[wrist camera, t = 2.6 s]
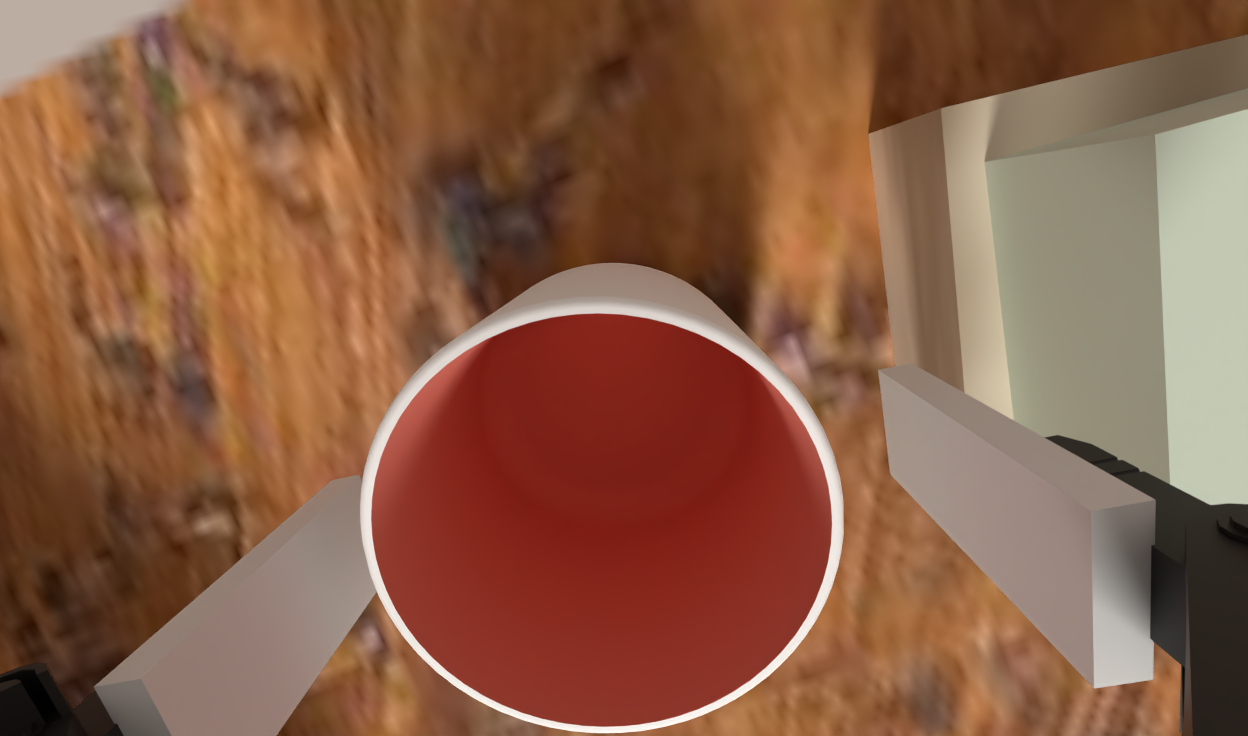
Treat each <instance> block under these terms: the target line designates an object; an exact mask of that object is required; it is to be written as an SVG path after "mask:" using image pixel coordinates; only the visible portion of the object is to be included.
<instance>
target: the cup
mask: <svg viewBox="0 0 1248 736" xmlns="http://www.w3.org/2000/svg"><path fill="white" fill-rule="evenodd" d="M843 525H844V514H843V494H842V488H841V482H840V475H839V472H838V468H837V465H836V461H835V457H834V454H833V451H832V448H831V446H830V443H829V441H828V438H827V436H826V434H825V432H824V429H823V427H822V425H821V424H820V422H819V420H818V418H817V416H816V415H815V413H814V411H813V410H812V408H811V406H810V405H809V403H808V402H807V400H806V399H805V397H804V396H803V395H802V394H801V392H800V391H799V390H798V389H797V387H796V386H795V385H794V384H793V382H792V381H791V380H790V379H789V378H788V376H787V375H786V374H785V373H784V372H783V371H782V370H781V369H780V368H779V367H778V366H777V365H776V364H775V363H774V362H773V361H772V360H771V359H770V358H769V357H768V356H767V355H766V354H765V353H764V352H763V351H762V350H761V349H760V348H759V347H758V346H757V345H756V344H755V343H754V342H753V341H752V340H751V339H750V338H749V337H748V336H747V335H746V334H745V333H744V332H743V331H742V330H741V329H740V328H739V327H738V326H737V325H736V324H735V323H734V322H733V321H732V320H731V319H730V318H729V317H728V316H727V315H726V314H725V313H724V312H723V311H722V310H721V309H720V308H719V307H718V306H717V305H716V304H715V303H714V302H713V301H712V300H711V299H709V298H708V297H707V296H706V295H704V294H703V293H702V292H701V291H699V290H698V289H696V288H695V287H693V286H691V285H690V284H688V283H687V282H685V281H683V280H681V279H679V278H677V277H675V276H673V275H671V274H668V273H666V272H663V271H660V270H657V269H653V268H650V267H645V266H641V265H635V264H626V263H599V264H591V265H584V266H580V267H576V268H572V269H569V270H566V271H563V272H560V273H557V274H555V275H553V276H550V277H548V278H546V279H544V280H542V281H541V282H539V283H537V284H535V285H534V286H532V287H531V288H529V289H528V290H526V291H525V292H523V293H522V294H520V295H519V296H517V297H516V298H514V299H513V300H511V301H510V302H508V303H507V304H505V305H504V306H503V307H501V308H500V309H498V310H497V311H495V312H494V313H492V314H491V315H489V316H488V317H486V318H485V319H483V320H482V321H480V322H479V323H477V324H476V325H474V326H473V327H471V328H470V329H468V330H467V331H465V332H464V333H462V334H461V335H459V336H458V337H457V338H455V339H454V340H453V341H451V342H450V343H448V344H447V345H446V346H444V347H443V348H441V349H440V350H439V351H438V352H437V353H435V354H434V355H433V356H432V357H431V358H430V359H429V360H427V361H426V362H425V363H424V364H423V365H422V366H421V367H420V368H419V369H418V370H417V371H416V372H415V374H414V375H413V376H412V377H411V378H410V379H409V380H408V382H407V383H406V384H405V385H404V386H403V388H402V389H401V390H400V392H399V393H398V394H397V396H396V398H395V399H394V401H393V402H392V404H391V405H390V407H389V408H388V410H387V412H386V414H385V416H384V418H383V420H382V421H381V423H380V425H379V427H378V429H377V432H376V434H375V437H374V440H373V442H372V445H371V447H370V450H369V454H368V458H367V461H366V465H365V469H364V474H363V480H362V486H361V498H360V526H361V535H362V543H363V547H364V551H365V555H366V559H367V563H368V567H369V572H370V575H371V578H372V580H373V583H374V585H375V588H376V591H377V593H378V595H379V597H380V599H381V601H382V603H383V605H384V607H385V609H386V611H387V613H388V615H389V616H390V618H391V619H392V621H393V622H394V624H395V625H396V627H397V628H398V630H399V631H400V633H401V634H402V636H403V637H404V638H405V639H406V640H407V642H408V643H409V644H410V645H411V646H412V647H413V649H414V650H415V651H416V652H417V653H418V655H420V656H421V657H422V658H423V659H424V660H425V661H426V662H427V663H428V664H429V665H430V666H431V667H432V668H433V669H434V670H435V671H436V672H437V673H439V674H440V675H441V676H443V677H444V678H445V679H446V680H448V681H449V682H450V683H452V684H453V685H454V686H455V687H457V688H459V689H460V690H462V691H463V692H465V693H467V694H468V695H470V696H471V697H473V698H475V699H476V700H478V701H480V702H482V703H484V704H486V705H488V706H490V707H492V708H494V709H496V710H498V711H500V712H503V713H506V714H508V715H511V716H514V717H516V718H519V719H522V720H524V721H528V722H532V723H535V724H539V725H543V726H547V727H551V728H557V729H563V730H569V731H577V732H590V733H624V732H634V731H644V730H649V729H655V728H660V727H665V726H669V725H673V724H676V723H680V722H684V721H687V720H690V719H693V718H695V717H698V716H701V715H704V714H706V713H708V712H710V711H713V710H715V709H717V708H720V707H721V706H723V705H725V704H727V703H729V702H731V701H733V700H735V699H736V698H738V697H739V696H741V695H743V694H744V693H746V692H747V691H749V690H750V689H752V688H753V687H755V686H756V685H757V684H759V683H760V682H761V681H762V680H764V679H765V678H766V677H768V676H769V675H770V674H771V673H772V672H773V671H774V670H775V669H777V668H778V667H779V666H780V665H781V664H782V663H783V662H784V661H785V660H786V659H787V658H788V657H789V655H790V654H791V653H792V652H793V651H794V650H795V649H796V648H797V646H798V645H799V644H800V642H801V641H802V640H803V639H804V637H805V636H806V635H807V633H808V632H809V630H810V629H811V627H812V625H813V624H814V622H815V621H816V619H817V617H818V615H819V614H820V612H821V610H822V608H823V606H824V604H825V602H826V600H827V597H828V595H829V592H830V590H831V588H832V585H833V582H834V578H835V575H836V572H837V569H838V564H839V560H840V555H841V550H842V542H843V534H844V527H843Z"/></svg>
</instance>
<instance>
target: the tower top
mask: <svg viewBox="0 0 1248 736" xmlns="http://www.w3.org/2000/svg"><path fill="white" fill-rule="evenodd" d="M984 163H985V172H986V180H987V189H988V198H989V207H990V215H991V224H992V233H993V242H994V251H995V259H996V268H997V277H998V286H999V294H1000V303H1001V312H1002V321H1003V330H1004V338H1005V347H1006V356H1007V365H1008V374H1009V382H1010V391H1011V400H1012V409H1013V417H1014V421H1016V422H1017V423H1019V424H1021V425H1023V426H1024V427H1026V428H1028V429H1030V430H1032V431H1033V432H1035V433H1037V434H1039V435H1041V436H1042V437H1050V436H1055V435H1060V436H1064V437H1067V438H1071V439H1075V440H1079V441H1083V442H1086V443H1090V444H1093V445H1095V446H1097V447H1099V448H1100V449H1102V450H1104V451H1106V452H1108V453H1110V454H1112V455H1114V456H1116V457H1117V459H1118V460H1124V461H1126V462H1128V463H1130V464H1132V465H1133V466H1135V467H1137V468H1139V470H1140V472H1142V471H1145V472H1147V473H1149V474H1151V475H1153V476H1155V477H1157V478H1159V479H1161V480H1163V481H1165V482H1167V483H1168V484H1170V485H1172V486H1174V487H1176V488H1178V489H1180V490H1182V491H1184V492H1186V493H1188V494H1190V495H1192V496H1194V497H1196V498H1198V499H1200V500H1202V501H1203V502H1205V503H1207V504H1209V505H1217V504H1226V503H1233V504H1248V88H1247V89H1243V90H1240V91H1236V92H1232V93H1229V94H1225V95H1222V96H1218V97H1215V98H1211V99H1208V100H1204V101H1200V102H1197V103H1193V104H1190V105H1186V106H1183V107H1179V108H1175V109H1172V110H1168V111H1165V112H1161V113H1158V114H1154V115H1150V116H1147V117H1143V118H1140V119H1136V120H1133V121H1129V122H1126V123H1122V124H1118V125H1115V126H1111V127H1108V128H1104V129H1101V130H1097V131H1093V132H1090V133H1086V134H1083V135H1079V136H1076V137H1072V138H1068V139H1065V140H1061V141H1058V142H1054V143H1051V144H1047V145H1044V146H1040V147H1036V148H1033V149H1029V150H1026V151H1022V152H1019V153H1015V154H1011V155H1008V156H1004V157H1001V158H997V159H994V160H990V161H986V162H984Z"/></svg>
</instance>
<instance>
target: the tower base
mask: <svg viewBox="0 0 1248 736" xmlns="http://www.w3.org/2000/svg"><path fill="white" fill-rule="evenodd" d="M1247 88H1248V34H1247V35H1243V36H1239V37H1235V38H1231V39H1226V40H1222V41H1218V42H1214V43H1210V44H1206V45H1201V46H1197V47H1193V48H1189V49H1185V50H1181V51H1177V52H1172V53H1168V54H1164V55H1160V56H1156V57H1152V58H1147V59H1143V60H1139V61H1135V62H1131V63H1127V64H1123V65H1118V66H1114V67H1110V68H1106V69H1102V70H1098V71H1093V72H1089V73H1085V74H1081V75H1077V76H1073V77H1068V78H1064V79H1060V80H1056V81H1052V82H1048V83H1044V84H1039V85H1035V86H1031V87H1027V88H1023V89H1019V90H1014V91H1010V92H1006V93H1002V94H998V95H994V96H990V97H985V98H981V99H977V100H973V101H969V102H965V103H960V104H956V105H952V106H948V107H944V108H940V109H937V110H934V111H932V112H929V113H926V114H923V115H920V116H918V117H915V118H912V119H909V120H906V121H904V122H901V123H898V124H895V125H892V126H890V127H887V128H884V129H881V130H878V131H875V132H873V133H870V134H868V136H869V145H870V154H871V163H872V171H873V180H874V189H875V198H876V206H877V215H878V224H879V232H880V241H881V250H882V259H883V267H884V276H885V285H886V294H887V302H888V311H889V320H890V329H891V337H892V346H893V355H894V364H895V366H900V365H904V364H909V363H912V364H914V365H915V366H917V367H919V368H921V369H923V370H924V371H926V372H928V373H930V374H931V375H933V376H935V377H937V378H939V379H940V380H942V381H944V382H946V383H948V384H949V385H951V386H953V387H955V388H957V389H958V390H960V391H962V392H964V393H965V394H967V395H969V396H971V397H973V398H974V399H976V400H978V401H980V402H982V403H983V404H985V405H987V406H989V407H990V408H992V409H994V410H996V411H998V412H999V413H1001V414H1003V415H1005V416H1007V417H1008V418H1010V419H1012V420H1014V417H1013V409H1012V400H1011V391H1010V382H1009V374H1008V365H1007V356H1006V347H1005V338H1004V330H1003V321H1002V312H1001V303H1000V294H999V286H998V277H997V268H996V259H995V251H994V242H993V233H992V224H991V215H990V207H989V198H988V189H987V180H986V172H985V163H984V162H986V161H990V160H994V159H997V158H1001V157H1004V156H1008V155H1011V154H1015V153H1019V152H1022V151H1026V150H1029V149H1033V148H1036V147H1040V146H1044V145H1047V144H1051V143H1054V142H1058V141H1061V140H1065V139H1068V138H1072V137H1076V136H1079V135H1083V134H1086V133H1090V132H1093V131H1097V130H1101V129H1104V128H1108V127H1111V126H1115V125H1118V124H1122V123H1126V122H1129V121H1133V120H1136V119H1140V118H1143V117H1147V116H1150V115H1154V114H1158V113H1161V112H1165V111H1168V110H1172V109H1175V108H1179V107H1183V106H1186V105H1190V104H1193V103H1197V102H1200V101H1204V100H1208V99H1211V98H1215V97H1218V96H1222V95H1225V94H1229V93H1232V92H1236V91H1240V90H1243V89H1247Z"/></svg>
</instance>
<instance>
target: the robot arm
mask: <svg viewBox="0 0 1248 736" xmlns="http://www.w3.org/2000/svg"><path fill="white" fill-rule="evenodd" d="M878 372H879V381H880V389H881V398H882V407H883V415H884V424H885V433H886V441H887V450H888V459H889V467H890V474H891V475H892V477H893V478H894V479H895V480H896V481H897V482H898V483H899V484H900V485H901V486H902V487H903V488H904V489H905V490H906V491H907V492H908V493H909V494H910V495H911V496H912V498H913V499H914V500H915V501H916V502H917V503H918V504H919V505H920V506H921V507H922V508H923V509H924V510H925V511H926V512H927V513H928V514H929V515H930V516H931V517H932V519H933V520H934V521H935V522H936V523H937V524H938V525H939V526H940V527H941V528H942V529H943V530H944V531H945V532H946V533H947V534H948V535H949V536H950V537H951V539H952V540H953V541H954V542H955V543H956V544H957V545H958V546H959V547H960V548H961V549H962V550H963V551H964V552H965V553H966V554H967V555H968V556H969V557H970V558H971V560H972V561H973V562H974V563H975V564H976V565H977V566H978V567H979V568H980V569H981V570H982V571H983V572H984V573H985V574H986V575H987V576H988V577H989V578H990V579H991V581H992V582H993V583H994V584H995V585H996V586H997V587H998V588H999V589H1000V590H1001V591H1002V592H1003V593H1004V594H1005V595H1006V596H1007V597H1008V598H1009V599H1010V601H1011V602H1012V603H1013V604H1014V605H1015V606H1016V607H1017V608H1018V609H1019V610H1020V611H1021V612H1022V613H1023V614H1024V615H1025V616H1026V617H1027V618H1028V619H1029V620H1030V622H1031V623H1032V624H1033V625H1034V626H1035V627H1036V628H1037V629H1038V630H1039V631H1040V632H1041V633H1042V634H1043V635H1044V636H1045V637H1046V638H1047V639H1048V640H1049V641H1050V643H1051V644H1052V645H1053V646H1054V647H1055V648H1056V649H1057V650H1058V651H1059V652H1060V653H1061V654H1062V655H1063V656H1064V657H1065V658H1066V659H1067V660H1068V661H1069V663H1070V664H1071V665H1072V666H1073V667H1074V668H1075V669H1076V670H1077V671H1078V672H1079V673H1080V674H1081V675H1082V676H1083V677H1084V678H1085V679H1086V680H1087V681H1088V682H1089V684H1090V685H1091V686H1092V687H1093V688H1100V687H1107V686H1113V685H1120V684H1127V683H1133V682H1140V681H1146V680H1153V648H1154V642H1155V643H1156V644H1157V645H1158V646H1160V647H1161V648H1162V649H1163V650H1164V651H1166V652H1167V653H1168V654H1169V655H1170V656H1172V657H1173V658H1174V659H1175V660H1176V661H1178V662H1179V663H1180V664H1181V696H1180V730H1179V732H1180V733H1182V736H1248V504H1233V503H1226V504H1217V505H1209V504H1207V503H1205V502H1203V501H1202V500H1200V499H1198V498H1196V497H1194V496H1192V495H1190V494H1188V493H1186V492H1184V491H1182V490H1180V489H1178V488H1176V487H1174V486H1172V485H1170V484H1168V483H1167V482H1165V481H1163V480H1161V479H1159V478H1157V477H1155V476H1153V475H1151V474H1149V473H1147V472H1145V471H1142V472H1140V470H1139V468H1137V467H1135V466H1133V465H1132V464H1130V463H1128V462H1126V461H1124V460H1118V459H1117V457H1116V456H1114V455H1112V454H1110V453H1108V452H1106V451H1104V450H1102V449H1100V448H1099V447H1097V446H1095V445H1093V444H1090V443H1086V442H1083V441H1079V440H1075V439H1071V438H1067V437H1064V436H1060V435H1055V436H1050V437H1042V436H1041V435H1039V434H1037V433H1035V432H1033V431H1032V430H1030V429H1028V428H1026V427H1024V426H1023V425H1021V424H1019V423H1017V422H1016V421H1014V420H1012V419H1010V418H1008V417H1007V416H1005V415H1003V414H1001V413H999V412H998V411H996V410H994V409H992V408H990V407H989V406H987V405H985V404H983V403H982V402H980V401H978V400H976V399H974V398H973V397H971V396H969V395H967V394H965V393H964V392H962V391H960V390H958V389H957V388H955V387H953V386H951V385H949V384H948V383H946V382H944V381H942V380H940V379H939V378H937V377H935V376H933V375H931V374H930V373H928V372H926V371H924V370H923V369H921V368H919V367H917V366H915V365H914V364H912V363H909V364H904V365H900V366H895V367H890V368H885V369H880V370H878ZM361 486H362V480H361V478H360V475H356V476H351V477H346V478H341V479H336V480H331V481H330V482H329V483H328V484H327V485H326V486H325V487H323V488H322V489H321V490H320V491H319V492H318V493H316V494H315V495H314V496H313V497H312V498H311V499H310V500H308V501H307V502H306V503H305V504H304V505H303V506H301V507H300V508H299V509H298V510H297V511H296V512H295V513H293V514H292V515H291V516H290V517H289V518H288V519H286V520H285V521H284V522H283V523H282V524H281V525H280V526H278V527H277V528H276V529H275V530H274V531H273V532H271V533H270V534H269V535H268V536H267V537H266V538H265V539H263V540H262V541H261V542H260V543H259V544H258V545H257V546H255V547H254V548H253V549H252V550H251V551H250V552H248V553H247V554H246V555H245V556H244V557H243V558H242V559H240V560H239V561H238V562H237V563H236V564H235V565H233V566H232V567H231V568H230V569H229V570H228V571H227V572H225V573H224V574H223V575H222V576H221V577H220V578H218V579H217V580H216V581H215V582H214V583H213V584H212V585H210V586H209V587H208V588H207V589H206V590H205V591H203V592H202V593H201V594H200V595H199V596H198V597H197V598H195V599H194V600H193V601H192V602H191V603H190V604H189V605H187V606H186V607H185V608H184V609H183V610H182V611H180V612H179V613H178V614H177V615H176V616H175V617H174V618H172V619H171V620H170V621H169V622H168V623H167V624H165V625H164V626H163V627H162V628H161V629H160V630H159V631H157V632H156V633H155V634H154V635H153V636H152V637H150V638H149V639H148V640H147V641H146V642H145V643H144V644H142V645H141V646H140V647H139V648H138V649H137V650H135V651H134V652H133V653H132V654H131V655H130V656H129V657H127V658H126V659H125V660H124V661H123V662H122V663H121V664H119V665H118V666H117V667H116V668H115V669H114V670H112V671H111V672H110V673H109V674H108V675H107V676H106V677H104V678H103V679H102V680H101V681H100V682H99V683H97V684H96V685H95V686H94V689H95V691H94V692H93V693H92V694H91V695H90V696H89V697H87V698H86V699H85V700H84V701H83V702H82V703H81V704H79V705H78V706H77V707H76V708H75V709H74V710H73V709H72V707H71V705H70V704H69V702H68V700H67V699H66V697H65V695H64V693H63V692H62V690H61V688H60V686H59V685H58V683H57V681H56V680H55V678H54V676H53V674H52V673H51V671H50V669H49V668H48V666H47V664H45V663H33V664H29V665H25V666H21V667H18V668H16V669H13V670H11V671H8V672H6V673H3V674H1V675H0V736H277V734H278V733H279V731H280V730H281V728H282V727H283V726H284V724H285V723H286V721H287V720H288V718H289V717H290V715H291V714H292V713H293V711H294V710H295V708H296V707H297V705H298V704H299V703H300V701H301V700H302V698H303V697H304V695H305V694H306V692H307V691H308V690H309V688H310V687H311V685H312V684H313V682H314V681H315V680H316V678H317V677H318V675H319V674H320V672H321V671H322V670H323V668H324V667H325V665H326V664H327V662H328V661H329V659H330V658H331V657H332V655H333V654H334V652H335V651H336V649H337V648H338V647H339V645H340V644H341V642H342V641H343V639H344V638H345V636H346V635H347V634H348V632H349V631H350V629H351V628H352V626H353V625H354V624H355V622H356V621H357V619H358V618H359V616H360V615H361V613H362V612H363V611H364V609H365V608H366V606H367V605H368V603H369V602H370V601H371V599H372V598H373V596H374V595H375V593H376V592H377V591H376V588H375V585H374V583H373V580H372V578H371V575H370V572H369V567H368V563H367V559H366V555H365V551H364V547H363V543H362V535H361V526H360V498H361Z"/></svg>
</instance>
